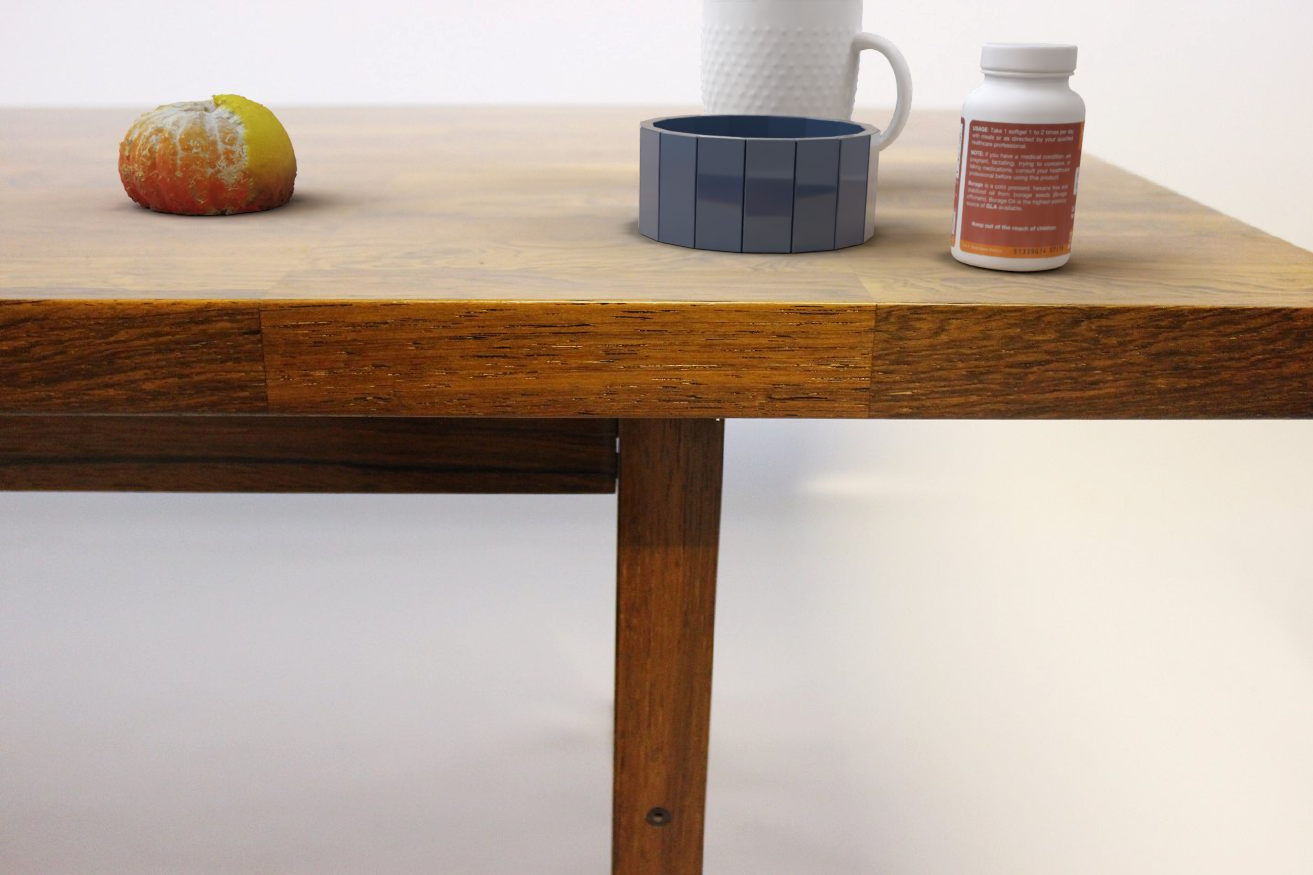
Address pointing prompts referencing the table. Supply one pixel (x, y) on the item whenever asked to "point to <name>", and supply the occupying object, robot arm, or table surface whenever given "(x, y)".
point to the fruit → (208, 158)
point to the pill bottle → (1019, 160)
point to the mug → (792, 59)
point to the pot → (757, 182)
